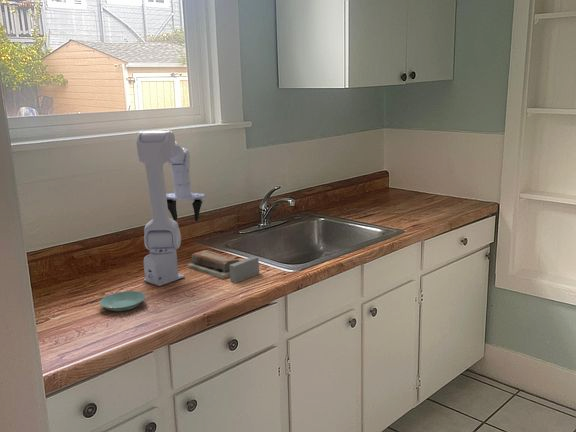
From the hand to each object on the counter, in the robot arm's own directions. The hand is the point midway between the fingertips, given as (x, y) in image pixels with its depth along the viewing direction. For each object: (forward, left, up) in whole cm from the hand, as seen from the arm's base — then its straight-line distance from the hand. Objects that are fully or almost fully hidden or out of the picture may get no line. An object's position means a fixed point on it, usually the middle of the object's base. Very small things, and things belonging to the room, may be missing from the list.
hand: (186, 219), depth 201 cm
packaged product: (-8, -24, -11) cm, 27 cm away
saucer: (-43, -26, -11) cm, 52 cm away
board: (-8, -37, -11) cm, 39 cm away
